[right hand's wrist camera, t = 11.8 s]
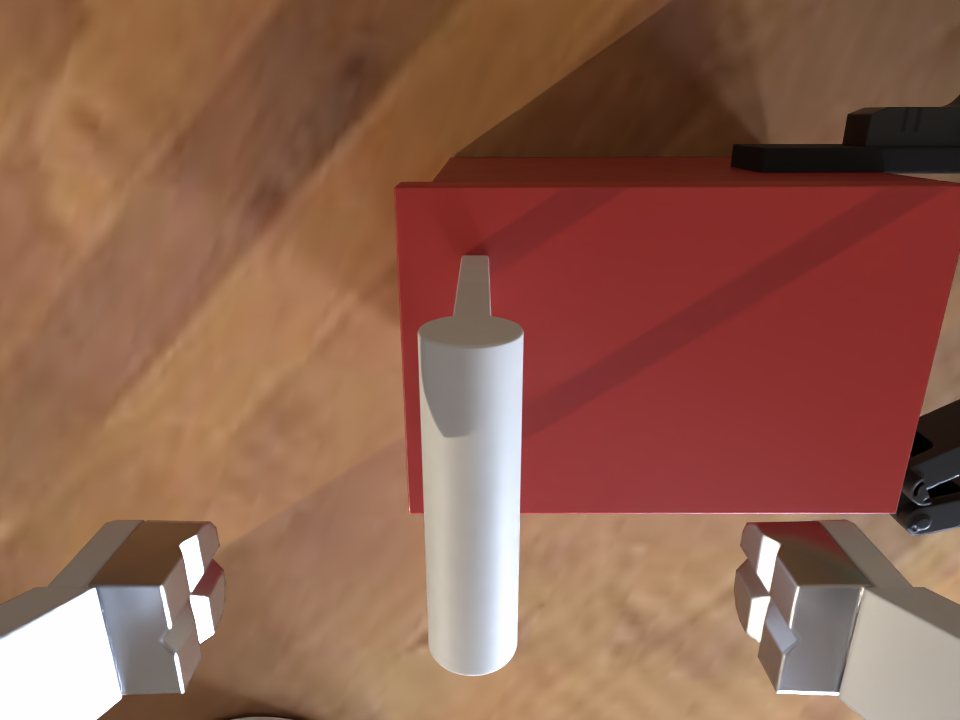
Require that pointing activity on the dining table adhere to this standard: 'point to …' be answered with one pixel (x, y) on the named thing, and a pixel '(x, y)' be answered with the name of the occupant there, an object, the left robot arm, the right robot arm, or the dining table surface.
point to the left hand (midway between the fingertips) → (726, 311)
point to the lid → (654, 361)
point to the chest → (627, 170)
